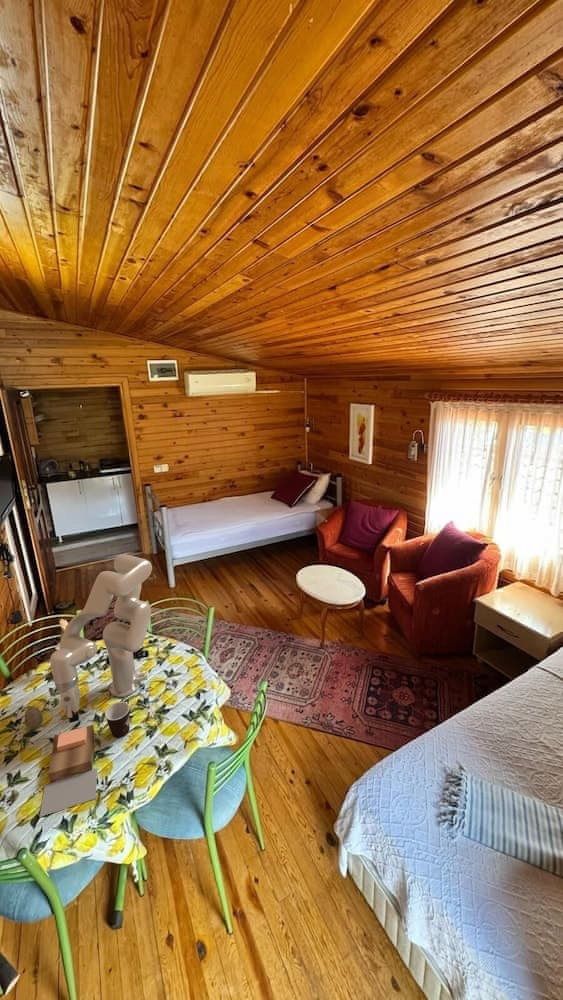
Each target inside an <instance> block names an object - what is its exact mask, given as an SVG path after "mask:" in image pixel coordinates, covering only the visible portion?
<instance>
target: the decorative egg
mask: <svg viewBox="0 0 563 1000" xmlns="http://www.w3.org/2000/svg"><path fill="white" fill-rule="evenodd" d="M43 721H44V716H43V713H42V711H41V710H40V709H39V708H38V707H37V706H35V705H31V706H29V707H27V709H26V711H25V713H24V725H25V727H26V728H27V729H28V730H30V731H35V730H38V729H39V728H40V727H41V725H42V724H43Z"/></svg>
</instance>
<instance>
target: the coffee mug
mask: <svg viewBox="0 0 563 1000" xmlns="http://www.w3.org/2000/svg"><path fill="white" fill-rule="evenodd" d="M130 713H131V712H130V699H128V698H126V699H125V700H124V701H118V702H114V703H112V704H111V705H109V706H108V707H107V708H106V710H105V712H104V716H105V720H106V722H107V725H108V727H109V730H110V733H111V736H112V737H113V738H114V739H122V738H124V737H126V736H127V735H129V734H128V733H130V730H131V729H130V723H131V721H130Z"/></svg>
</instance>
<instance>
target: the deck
mask: <svg viewBox="0 0 563 1000" xmlns="http://www.w3.org/2000/svg"><path fill="white" fill-rule="evenodd" d="M86 728H87V737H86V744H83V745H80V746H76V747H73V748H69V749H66V750H62V751H59V752H58V750H57V744H58V738H59V734H60V733H59V734H55V735H54V737H53V744H52V748H51V749H52V750H51V755H50V761H49V768H48V771H47V773H48V774H47V775H48V779H49V784H50V783H53V782H56V781H59V780H62V779H65V778H69V777H72V776H75V775H78V774H81V773H85V772H88V771H91V770H94V769H93V766H94V752H95V750H94V749H95V733H96V731H95V726H94V724H91V725H87V726H86Z"/></svg>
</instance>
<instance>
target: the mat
mask: <svg viewBox="0 0 563 1000" xmlns="http://www.w3.org/2000/svg"><path fill="white" fill-rule="evenodd" d="M97 780H98V768H95V769H92V770H89V771H86V772H83V773H80V774H76V775H73V776H70V777H67V778H64V779H60V780H57V781H54V782H51V783H50V782H49V783H46V784H44V789H43V794H42V800H41V805H40V810H39V811H40V812H39V817H41V818H43V816H44V817H45V815H47V816H49V815H48V814H50V815H52V814H51V813H53V814H55V813H54V812H56V813H58V812H57V811H59V810H62V811H64V810H63V809H65V808H68V809H70V808H72V806H73V807H76V806H79V805H82V804H85V803H87V802H88V803H89V802H92V801H94V800H96V799H97ZM78 804H79V805H78ZM75 805H76V806H75ZM69 807H70V808H69ZM65 810H66V809H65ZM59 812H60V811H59Z"/></svg>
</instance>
